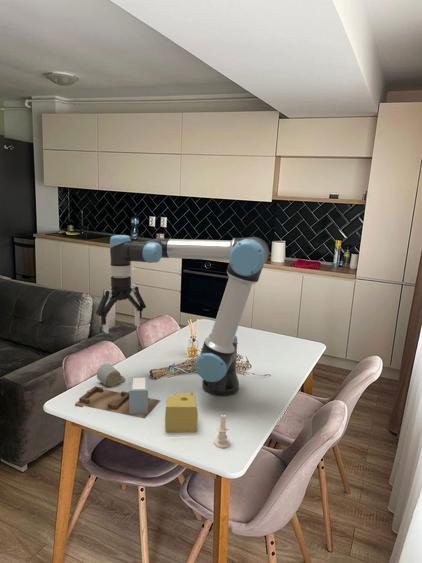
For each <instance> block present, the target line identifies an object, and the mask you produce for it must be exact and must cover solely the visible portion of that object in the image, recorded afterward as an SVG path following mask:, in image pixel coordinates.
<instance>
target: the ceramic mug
mask: <svg viewBox="0 0 422 563" xmlns="http://www.w3.org/2000/svg"><path fill="white" fill-rule="evenodd" d="M96 378H97V380H98V381H99V382H101V383H102V384H103V385H105V387H106V386H107V387H109V388H114V387H116V386H118V385H119V384H120V383H124V382H125V381H126V378H125V376H123V375H122V374H121V372H120V371H119V370H118V369H117V368H115V367H114V366H113V365H112V364H110V363H104V364H102V365H100V366H99V368H98V369H97V370H96Z"/></svg>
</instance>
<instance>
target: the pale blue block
mask: <svg viewBox="0 0 422 563" xmlns="http://www.w3.org/2000/svg"><path fill="white" fill-rule="evenodd" d="M129 379H130V380H129V389H128V391H129V414H148V398H149V376H130V378H129ZM148 415H149V414H148Z"/></svg>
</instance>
